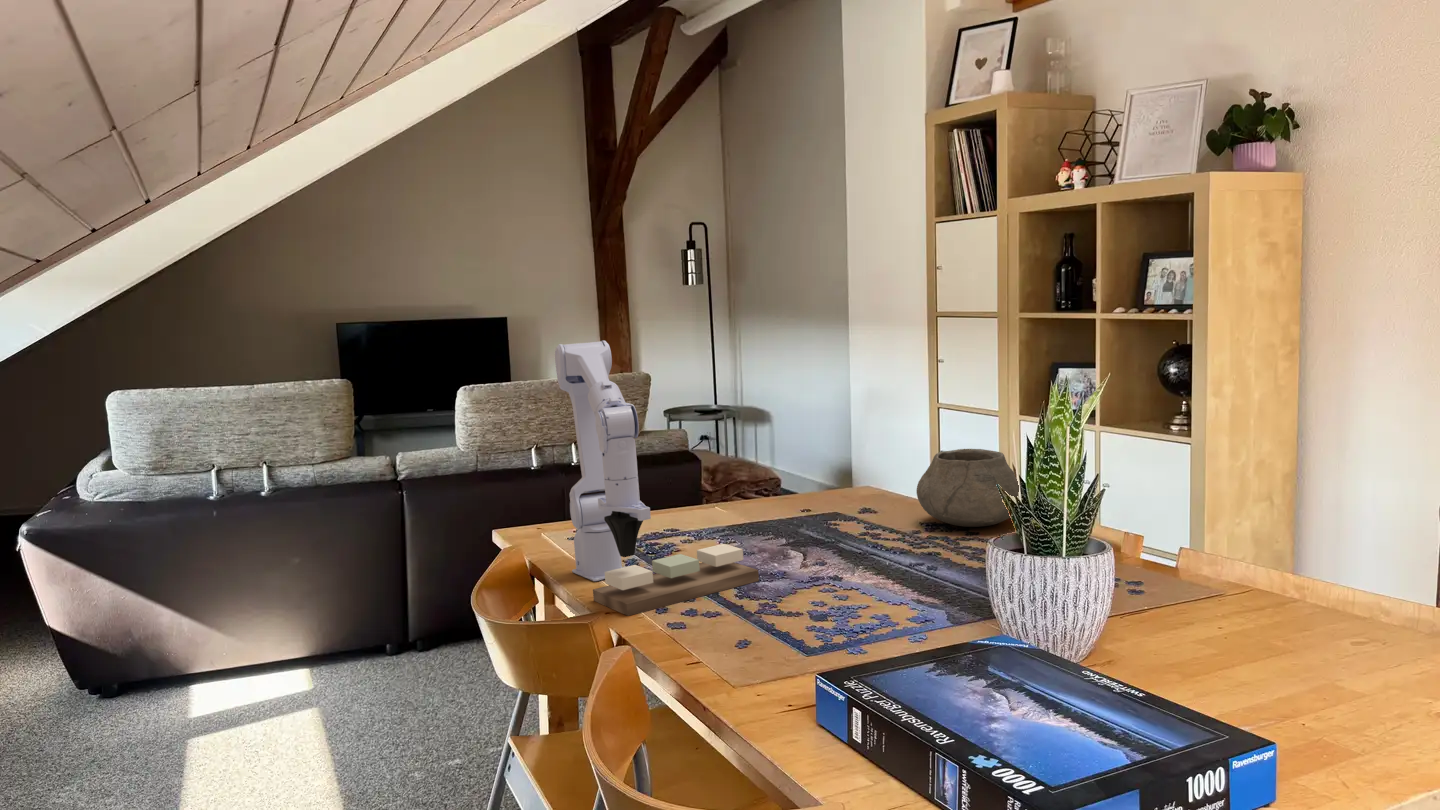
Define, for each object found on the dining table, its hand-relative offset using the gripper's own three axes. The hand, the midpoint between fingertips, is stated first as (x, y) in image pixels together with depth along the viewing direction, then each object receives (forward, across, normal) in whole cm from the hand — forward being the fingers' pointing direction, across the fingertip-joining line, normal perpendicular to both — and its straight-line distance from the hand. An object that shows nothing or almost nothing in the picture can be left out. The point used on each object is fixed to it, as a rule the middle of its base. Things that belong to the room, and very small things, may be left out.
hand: (627, 555), depth 178 cm
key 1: (+5, 0, 0) cm, 5 cm away
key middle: (+5, 0, +9) cm, 11 cm away
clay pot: (+8, +6, +78) cm, 79 cm away
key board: (+8, 0, +10) cm, 13 cm away
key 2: (+5, 0, +19) cm, 20 cm away
